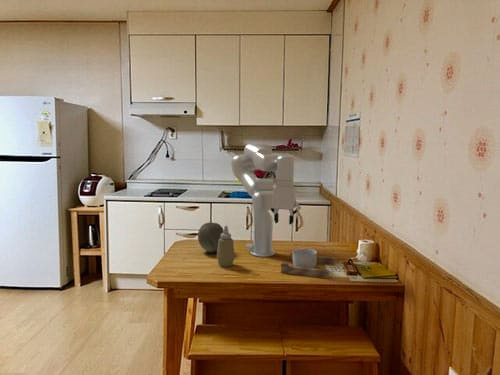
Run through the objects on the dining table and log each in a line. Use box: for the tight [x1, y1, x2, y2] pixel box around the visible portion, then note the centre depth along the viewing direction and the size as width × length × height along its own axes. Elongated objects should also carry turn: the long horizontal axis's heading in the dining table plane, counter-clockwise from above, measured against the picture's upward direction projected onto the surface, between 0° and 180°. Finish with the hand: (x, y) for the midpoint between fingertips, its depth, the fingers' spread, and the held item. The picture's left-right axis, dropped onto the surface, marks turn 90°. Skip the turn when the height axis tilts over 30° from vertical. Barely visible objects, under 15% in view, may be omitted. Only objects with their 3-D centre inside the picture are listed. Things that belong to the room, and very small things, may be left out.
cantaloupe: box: [197, 221, 224, 254], centre depth 195 cm, size 14×14×15 cm
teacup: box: [291, 247, 318, 268], centre depth 173 cm, size 14×11×8 cm
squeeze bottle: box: [216, 225, 235, 268], centre depth 174 cm, size 8×8×18 cm
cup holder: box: [280, 250, 335, 279], centre depth 173 cm, size 20×21×4 cm
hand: (283, 222), depth 175 cm, fingers open, 5 cm apart
